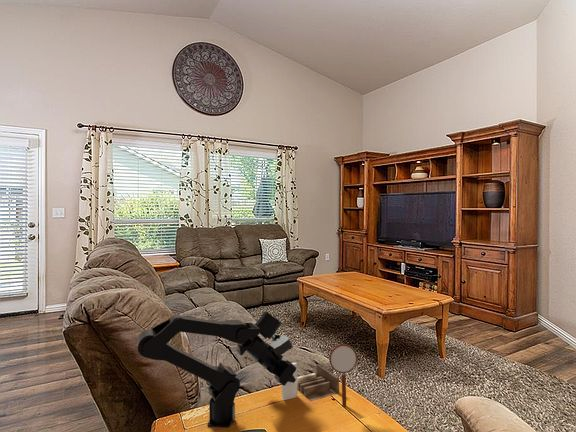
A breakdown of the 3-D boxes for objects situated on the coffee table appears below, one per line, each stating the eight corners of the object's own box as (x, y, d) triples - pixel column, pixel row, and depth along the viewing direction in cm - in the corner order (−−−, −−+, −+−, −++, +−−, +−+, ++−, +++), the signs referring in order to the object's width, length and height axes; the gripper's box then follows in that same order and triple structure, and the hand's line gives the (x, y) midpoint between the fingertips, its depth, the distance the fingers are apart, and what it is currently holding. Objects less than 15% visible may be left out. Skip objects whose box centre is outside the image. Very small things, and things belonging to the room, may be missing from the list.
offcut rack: (310, 405, 107) (309, 384, 107) (291, 388, 118) (291, 369, 119) (339, 397, 112) (338, 377, 112) (319, 382, 123) (318, 363, 123)
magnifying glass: (357, 408, 105) (356, 342, 106) (359, 411, 103) (357, 344, 104) (329, 410, 104) (328, 343, 105) (330, 413, 103) (329, 345, 103)
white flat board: (283, 405, 108) (282, 366, 108) (281, 403, 109) (281, 365, 109) (297, 401, 110) (296, 363, 110) (295, 399, 111) (295, 362, 111)
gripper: (289, 337, 100) (322, 368, 104) (265, 322, 117) (294, 349, 121) (265, 370, 96) (300, 400, 101) (243, 349, 113) (274, 376, 117)
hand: (292, 379), depth 110 cm, fingers open, 3 cm apart
